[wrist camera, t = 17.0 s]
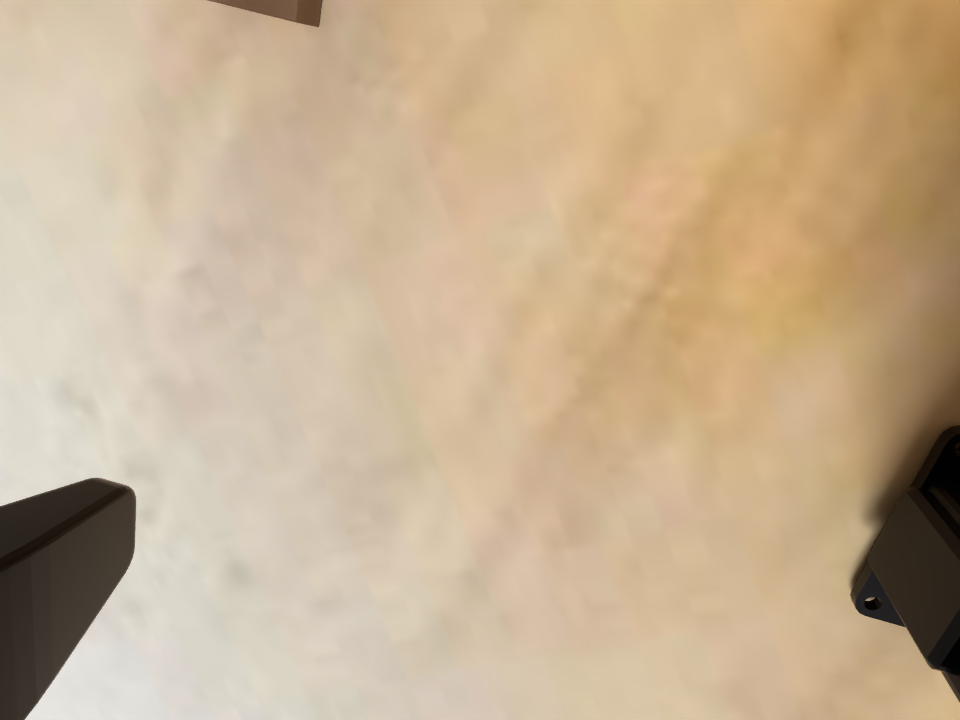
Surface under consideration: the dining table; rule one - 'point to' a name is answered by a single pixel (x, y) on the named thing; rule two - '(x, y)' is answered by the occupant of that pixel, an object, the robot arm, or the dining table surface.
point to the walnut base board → (282, 9)
